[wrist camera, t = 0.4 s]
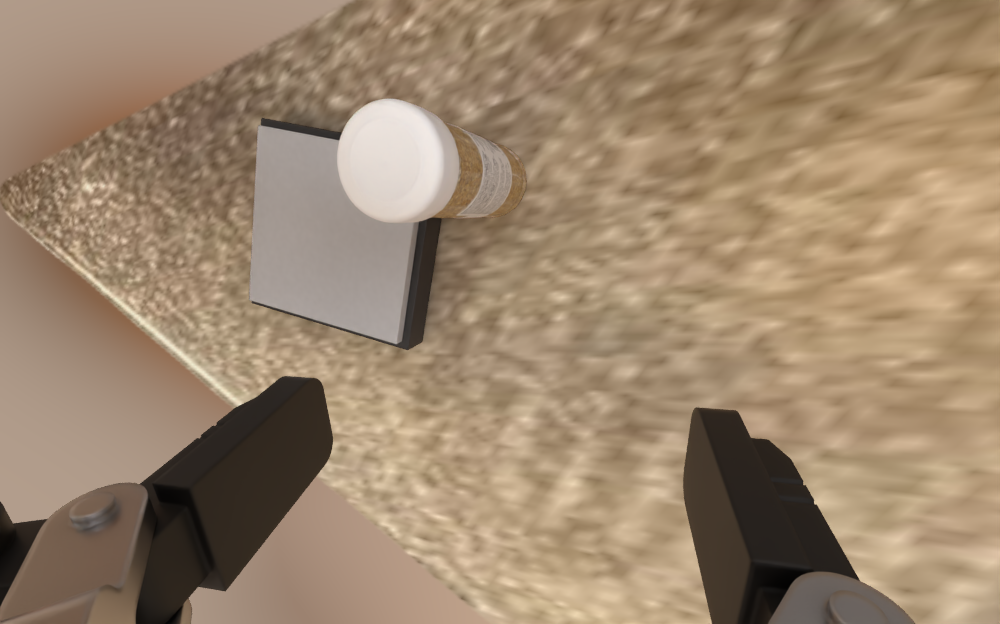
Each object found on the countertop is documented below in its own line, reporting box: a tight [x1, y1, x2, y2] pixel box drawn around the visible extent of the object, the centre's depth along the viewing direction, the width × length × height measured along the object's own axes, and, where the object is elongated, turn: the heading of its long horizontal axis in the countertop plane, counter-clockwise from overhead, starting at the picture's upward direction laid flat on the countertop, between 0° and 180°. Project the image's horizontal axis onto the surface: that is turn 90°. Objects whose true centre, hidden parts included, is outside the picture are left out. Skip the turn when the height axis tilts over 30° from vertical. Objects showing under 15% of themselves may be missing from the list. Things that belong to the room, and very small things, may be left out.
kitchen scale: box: [249, 118, 441, 350], centre depth 33 cm, size 13×13×3 cm
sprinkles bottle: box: [337, 99, 527, 223], centre depth 24 cm, size 5×5×14 cm
